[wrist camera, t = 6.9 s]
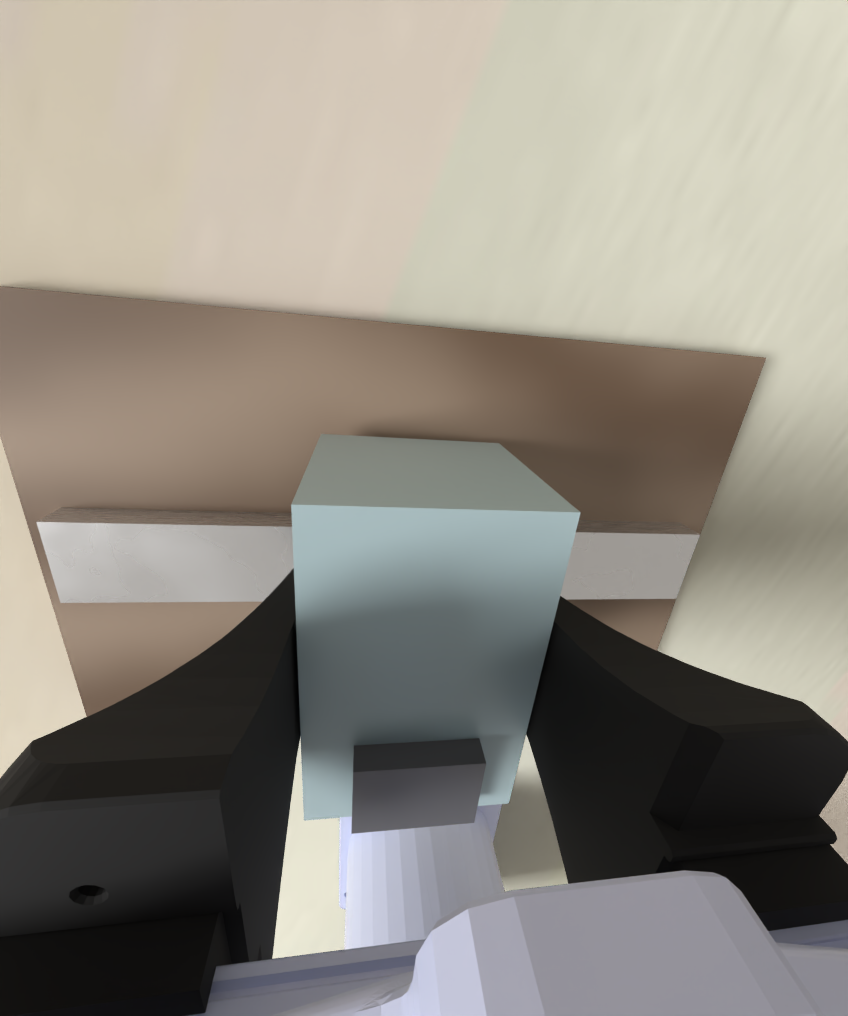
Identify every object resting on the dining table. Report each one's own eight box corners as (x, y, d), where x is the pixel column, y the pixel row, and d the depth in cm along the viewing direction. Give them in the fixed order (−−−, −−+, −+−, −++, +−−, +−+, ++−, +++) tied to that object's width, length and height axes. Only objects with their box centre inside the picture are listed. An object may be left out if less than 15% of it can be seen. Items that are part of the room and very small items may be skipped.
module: (465, 660, 15) (516, 829, 10) (323, 664, 14) (300, 849, 9) (499, 443, 12) (597, 526, 7) (321, 433, 11) (283, 520, 6)
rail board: (627, 676, 19) (655, 712, 18) (102, 695, 16) (69, 742, 14) (739, 355, 14) (796, 360, 12) (-13, 285, 11) (-90, 277, 9)
